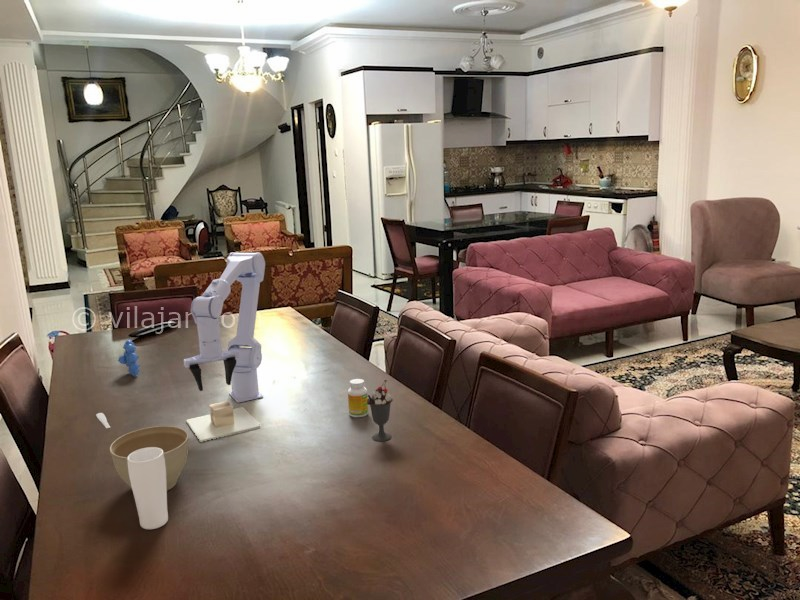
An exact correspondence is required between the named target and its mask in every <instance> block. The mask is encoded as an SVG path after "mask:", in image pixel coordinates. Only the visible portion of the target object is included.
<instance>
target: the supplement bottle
mask: <svg viewBox="0 0 800 600" xmlns="http://www.w3.org/2000/svg"><path fill="white" fill-rule="evenodd" d="M368 395H369V394H368V389H367V388H366V387H365V380H364V379H362V378H354V379H351V380H349V388H348V390H347V401H348V415H349V416H350V417H353V418H364V417H366V416H367V415H368V414H369V405H368V404H367V399H368V398H369V397H368Z"/></svg>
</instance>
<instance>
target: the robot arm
mask: <svg viewBox="0 0 800 600" xmlns="http://www.w3.org/2000/svg"><path fill="white" fill-rule="evenodd" d="M265 270H266V261H265V257H264V255H263V254H262V253H261V252H259V251H257V252H235V251H234V252H233V251H232V252H230V253H229V255H227V258H226V267H225V269H224V270H223V272H222V274H221V275H220V277H219V278H216V279H213V280H212V281H211V283H210V284H209V285H208V287H207V288H206V289H205V290H204V292H203V293H202V295H201V296H197V297H195V298H193V300H192V302H191V304H190V306H191V307H190V314H191V316H192V318H193V321H194V323H195V324H196V328H197V336H198V344H199V345H198V346H199V354H198V355H195V356H192V357H188V358H184V359H183V367H185V368H186V369H187V368H188V369H189V371H190V372H191V373H192V375H193V377H194V379H195V382H196V385H197V388H198V391H200V392H202V391H204V387H203V381H202V369H201V367H200V365H203V364H209V363H214V362H219V361H223V365H224V373H225V384H226V385H228V386H231V391H230V392H228V393H229V395H230V396H231V398H233V400H235V402H237V403H243V402H248V401H252V400H257V399H261V398H263V397H264V394H262V392H260V390H259V380H258V371H257V369H258V368H259V367H260V365H261V364H262V360H263V353H262V344H261V343H260V342H259V340H257V339H256V338H255V327H256V319H257V310H258V302H259V296H260V295H259V293H260V283H261V282H263V281H264V277H265ZM235 281H237V282H239V283H240V284H241V285H242V286H241V295H240V303H239V311H238V312H239V313H238V320H237V326H236V327H237V328H236V334H235V335H236V336H235V337H233V338H232V339H230V340H229V341H228V342H227V346H226V350H223V349H222V340H221V330H220V329H221V328H220V320H219V319H220V318H219V317H220V316H221V314H222V311H223V307H224V302H225V300H226V299H227V298H228V297H229V295H230V294H231V290H232V288H231V286H232V285H233V284H234V282H235Z"/></svg>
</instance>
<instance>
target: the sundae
mask: <svg viewBox="0 0 800 600" xmlns="http://www.w3.org/2000/svg"><path fill="white" fill-rule="evenodd" d="M387 381H388V380H387V379H384V380H383V383H382V385H381V386H378V387H377V389H375V390H373V392H372V394H371V395H370V394H367V395H368V399H367V404H368V406H369V407H370V411H371V416H372V417H371V418H372V420H373V422H374V424H376V425H378V432H377V433H374V434H373V435H372V440H373V441H376V442H387V441H389V440H391V438H392V435H391V433H387V432H385V428H384V427H385V425H386V424H387V423H388V421H389V420H390V419H389V418H390V411H391V404H392V402H393V401H394V399H393V398H392V397H391V395H390V394H389V392H388V388H386V387H384V388H382V386H384V385H385V384H386V383H387Z"/></svg>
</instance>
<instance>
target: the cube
mask: <svg viewBox="0 0 800 600" xmlns="http://www.w3.org/2000/svg"><path fill="white" fill-rule="evenodd" d="M208 406H209V414H210V416H211V422H212V424H213V425H214V426H215V427H216V428H218V427H222V426H227V425H231V424H234V415H233V409H234V407H233V404H231V403H230V401H228V400H224V401H221V402H215V403H211V404H209V405H208Z"/></svg>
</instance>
